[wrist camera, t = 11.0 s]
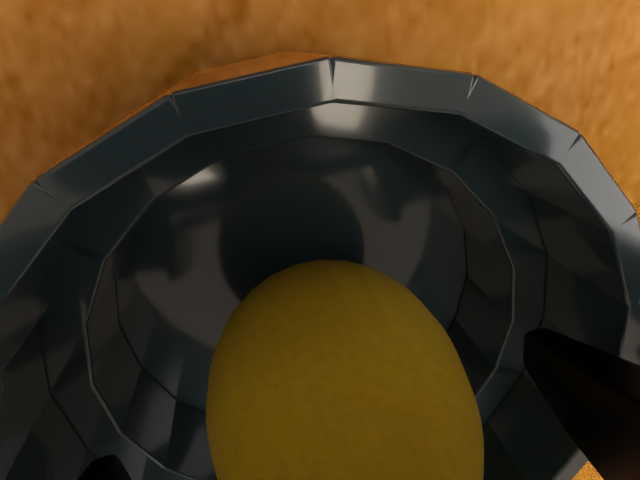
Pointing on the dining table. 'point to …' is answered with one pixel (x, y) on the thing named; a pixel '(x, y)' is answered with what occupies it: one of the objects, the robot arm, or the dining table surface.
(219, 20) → the dining table surface
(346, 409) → the lemon
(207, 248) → the grey pet bowl
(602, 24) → the dining table surface
